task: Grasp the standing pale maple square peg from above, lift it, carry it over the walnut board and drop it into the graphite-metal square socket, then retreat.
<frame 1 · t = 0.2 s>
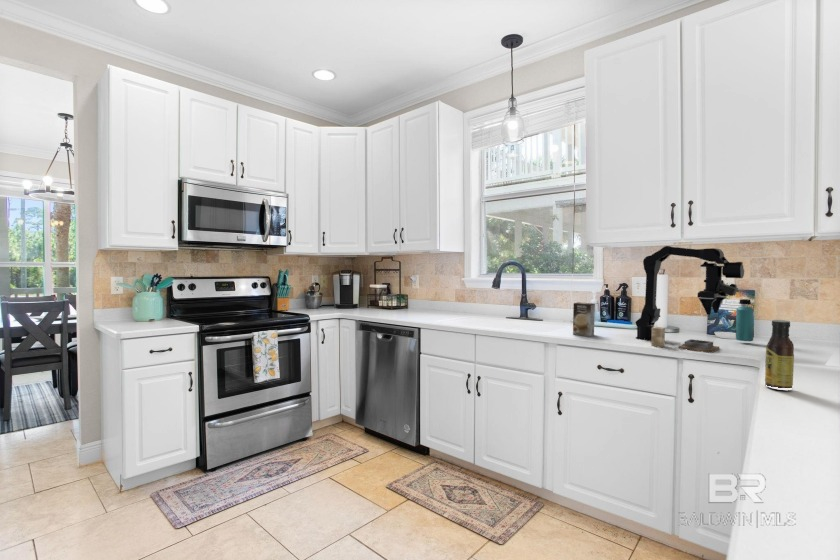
hand: (712, 313, 188), 14 cm above the counter, fingers open, 9 cm apart
beverage bottle: (744, 343, 197), on the counter
maple peg: (657, 346, 191), on the counter
coffee box: (583, 335, 222), on the counter
sauce bottle: (778, 389, 126), on the counter
socket holder: (698, 348, 185), on the counter
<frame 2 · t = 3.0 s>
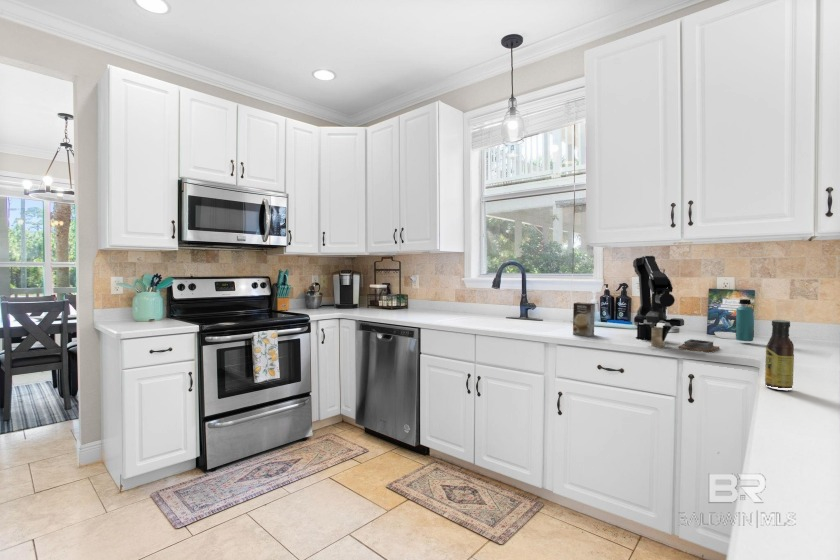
hand: (658, 340, 191), 3 cm above the counter, fingers closed on maple peg, 4 cm apart
maple peg: (657, 345, 191), on the counter, touching gripper
everything else where it was.
when the fingers open (4 cm above the counter, at t = 8.3 s): maple peg stays where it is, resting on socket holder.
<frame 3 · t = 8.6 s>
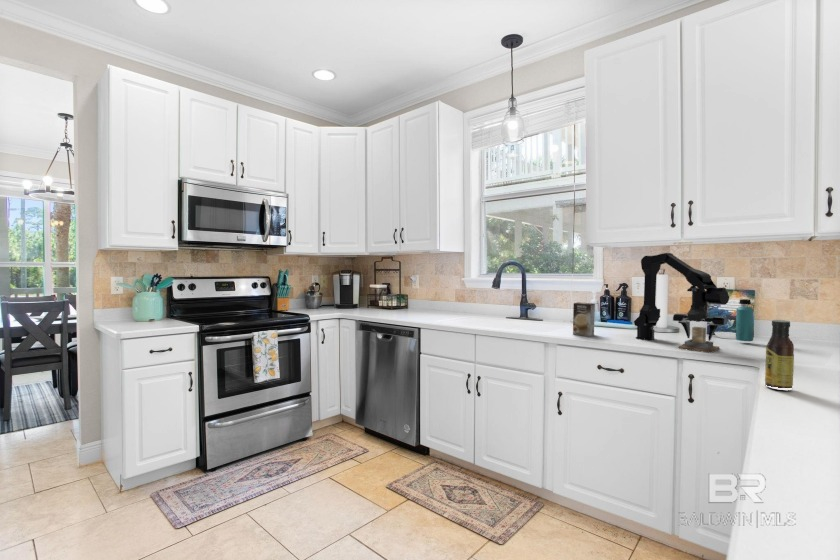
hand: (698, 339, 185), 4 cm above the counter, fingers open, 7 cm apart
maple peg: (698, 346, 185), point 1 cm above the counter, touching socket holder
everything else where it was.
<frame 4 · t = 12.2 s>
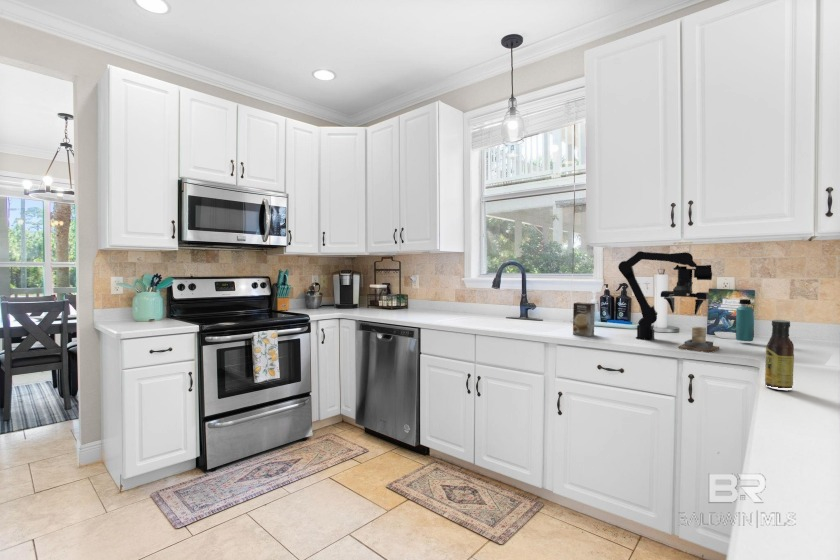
hand: (684, 313, 201), 13 cm above the counter, fingers open, 9 cm apart
nothing on the counter moved.
at the end: maple peg 0.1 cm off-centre on the socket holder, point 1.0 cm above the socket holder's base; maple peg tilted 0°; the gripper is holding nothing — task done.
